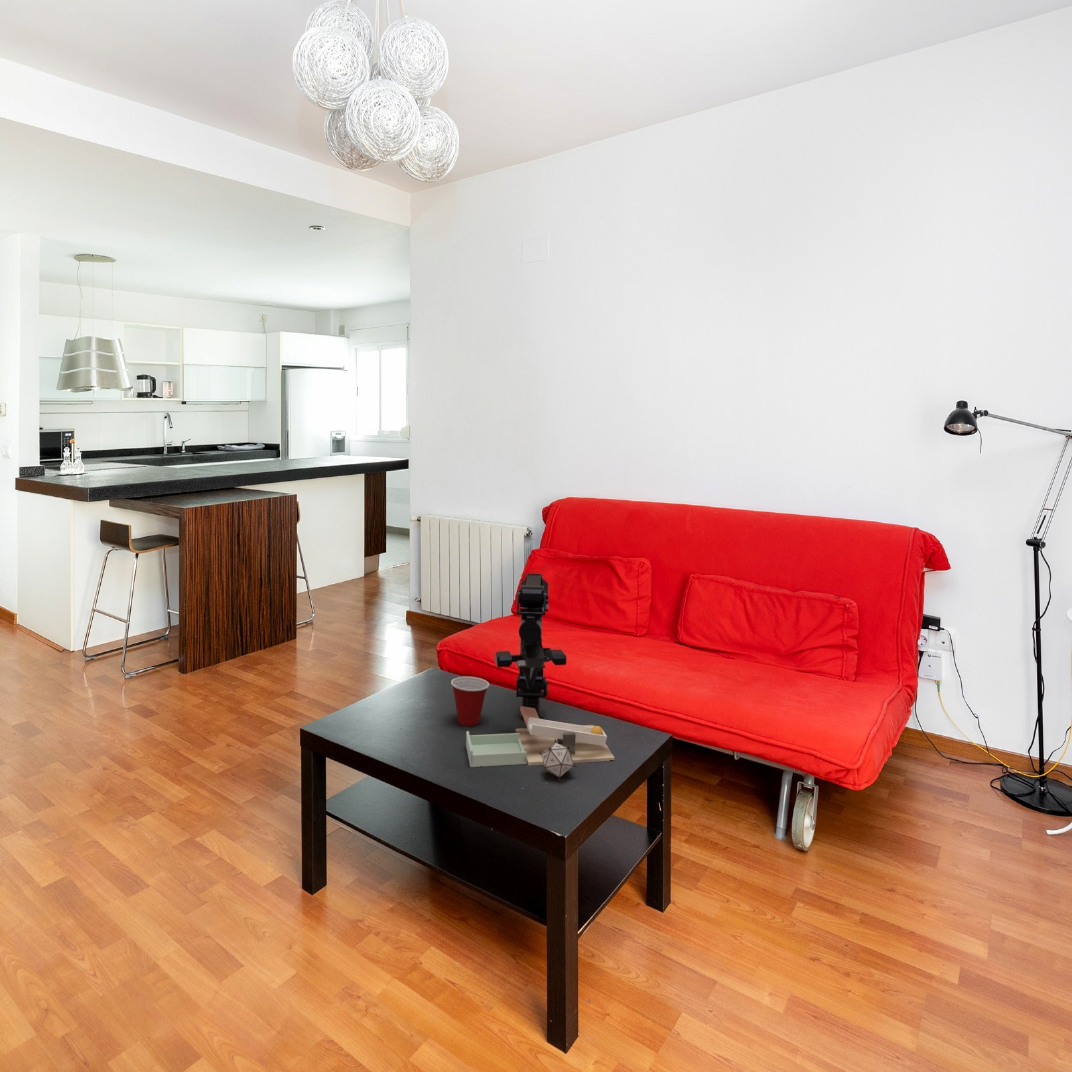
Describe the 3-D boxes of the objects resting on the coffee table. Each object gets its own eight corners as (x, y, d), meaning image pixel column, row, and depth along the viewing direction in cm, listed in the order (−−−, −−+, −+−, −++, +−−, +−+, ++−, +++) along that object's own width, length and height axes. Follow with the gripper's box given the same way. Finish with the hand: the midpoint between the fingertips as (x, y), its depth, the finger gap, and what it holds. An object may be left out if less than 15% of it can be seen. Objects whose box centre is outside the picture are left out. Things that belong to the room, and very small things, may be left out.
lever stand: (515, 731, 200) (516, 710, 199) (593, 727, 204) (594, 707, 203) (528, 765, 179) (528, 742, 178) (614, 760, 183) (615, 737, 182)
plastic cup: (487, 730, 200) (487, 688, 198) (448, 729, 200) (448, 687, 199) (490, 715, 211) (491, 675, 209) (453, 714, 211) (453, 674, 209)
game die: (553, 793, 173) (535, 769, 168) (546, 766, 181) (528, 742, 175) (586, 777, 172) (569, 752, 167) (578, 750, 180) (561, 726, 175)
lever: (520, 709, 200) (522, 700, 199) (588, 720, 204) (590, 711, 203) (530, 734, 183) (532, 724, 183) (604, 746, 187) (607, 736, 187)
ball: (588, 733, 190) (591, 723, 190) (599, 735, 191) (602, 725, 190) (591, 738, 187) (594, 727, 187) (602, 740, 188) (605, 729, 188)
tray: (466, 746, 189) (466, 731, 189) (519, 743, 192) (519, 728, 191) (470, 767, 178) (470, 750, 177) (526, 763, 180) (526, 747, 180)
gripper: (500, 642, 185) (499, 701, 187) (571, 640, 188) (570, 698, 190) (495, 630, 195) (494, 686, 198) (562, 628, 199) (561, 683, 201)
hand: (529, 688), depth 196 cm, fingers closed
